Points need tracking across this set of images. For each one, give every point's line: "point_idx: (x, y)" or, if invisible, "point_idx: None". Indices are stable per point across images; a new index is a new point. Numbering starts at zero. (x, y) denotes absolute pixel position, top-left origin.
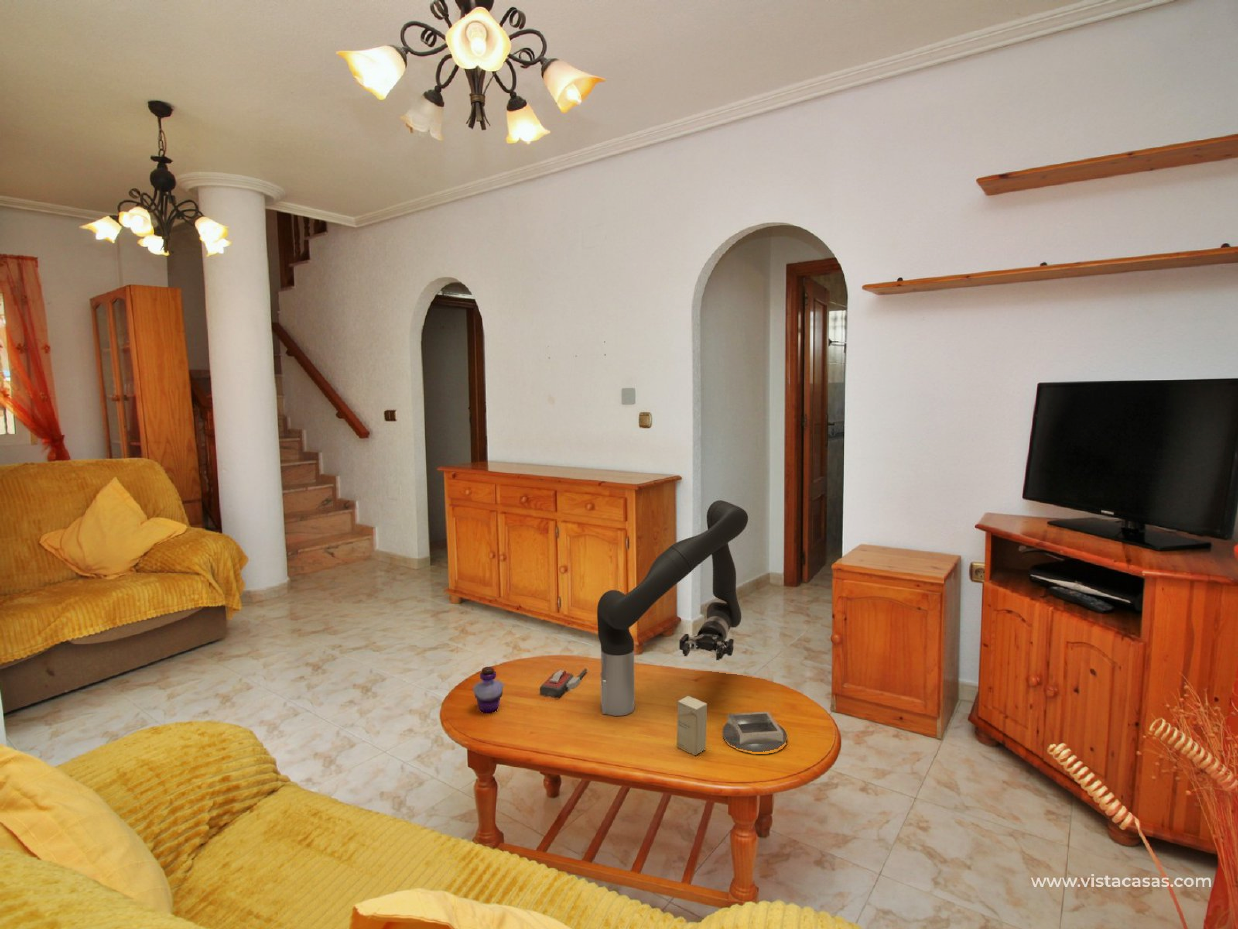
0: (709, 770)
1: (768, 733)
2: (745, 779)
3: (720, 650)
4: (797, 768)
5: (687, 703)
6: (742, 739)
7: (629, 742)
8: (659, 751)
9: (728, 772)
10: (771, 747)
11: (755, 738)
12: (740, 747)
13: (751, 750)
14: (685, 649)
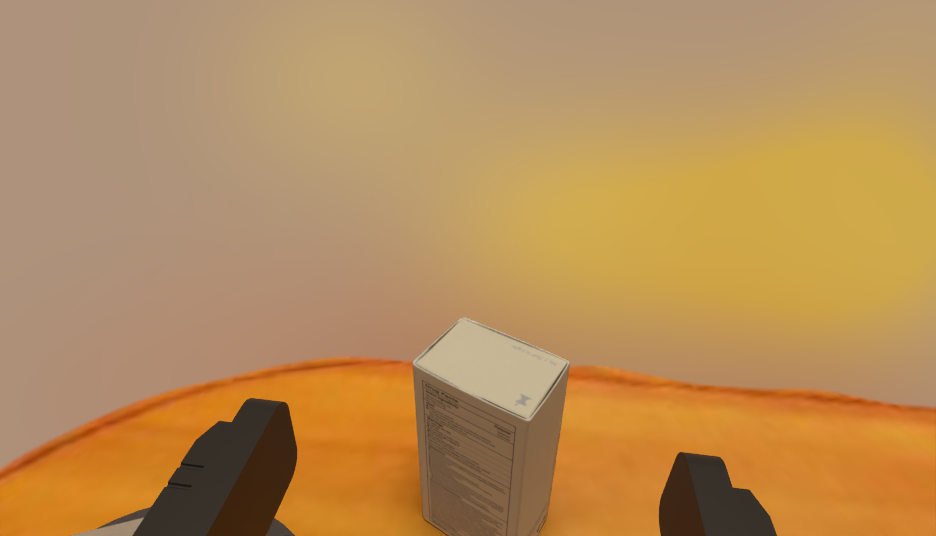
0: (408, 402)
1: (96, 529)
2: (296, 379)
3: (192, 499)
4: (77, 454)
5: (515, 350)
6: None
7: None
8: (605, 479)
9: (345, 401)
10: (118, 522)
11: None
12: None
13: None
14: (698, 455)
